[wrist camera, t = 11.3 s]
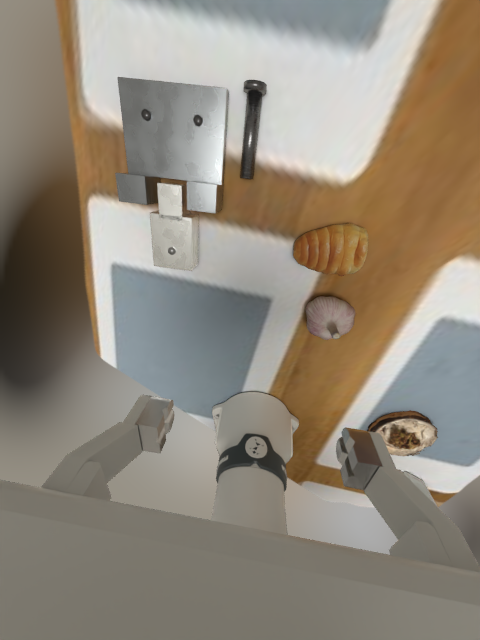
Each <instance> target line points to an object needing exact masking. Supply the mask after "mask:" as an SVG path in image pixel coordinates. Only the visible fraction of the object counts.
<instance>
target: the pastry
mask: <svg viewBox="0 0 480 640" xmlns="http://www.w3.org/2000/svg"><path fill="white" fill-rule="evenodd" d="M367 246H368V234H367V231H366V229H365V228H362V227H358V226H356V225H354V224H351V223H347V224H340V225H331V226H327V227H324V228H320V229H316V230H312V231H309V232H306V233H305V234H303V235H302V236H300V237H299V238H298V239H297V240H296V241H295V243H294V248H293V250H294V252H293V257H294V258H295V259H296V261H297V262H298V264H300V265H303V266H306V267H307V268H308V269H311V270H315V271H318V272H322V273H324V274H338V275H339V276H344V275H346V274H353V273H355V272H356V271H358V270H359V269H360V268H361V267H362V266H363V263H364V261H365V258H366V255H367Z"/></svg>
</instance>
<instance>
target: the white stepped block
mask: <svg viewBox="0 0 480 640" xmlns="http://www.w3.org/2000/svg"><path fill="white" fill-rule="evenodd" d="M157 187H158V203H159V211H155V212H151V213H150V222H151V235H152V247H153V259H154V266H159V267H166V268H173V269H180V270H188V271H192V270H193V269H194V268H195V267H196V266H197V264H198V238H199V215H196V214H190V210H187V185H184V184H175V183H157Z"/></svg>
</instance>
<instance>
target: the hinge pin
mask: <svg viewBox="0 0 480 640" xmlns="http://www.w3.org/2000/svg"><path fill="white" fill-rule="evenodd" d="M266 87H267V85H266V84H265V83H264V82H261V81H257V80H247V81H245V82H244V92H245V93H247V105H246V116H245V127H244V139H243V150H242V161H241V173H240V178H247V179H253V173H254V164H255V155H256V146H257V137H258V128H259V119H260V110H261V101H262V95H265V94H266Z"/></svg>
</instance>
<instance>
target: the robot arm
mask: <svg viewBox="0 0 480 640" xmlns="http://www.w3.org/2000/svg"><path fill="white" fill-rule="evenodd" d="M172 407H173V400H170V399H165V398H159V397H154V396H148V395H141V396H140V397H139V398H138V400H137V401H136V403H135V405H134V406H133V408H132V409H131V411H130V412H129V414H128V415H127V417H126V418H125V420H124V422H119V423H117V424H116V425H114V426H113V427H111V428H110V429H108V430H106V431H105V432H103V433H102V434H100V435H98V436H96V437H95V438H93V439H92V440H90V441H88V442H87V443H85V444H83V445H82V446H81V447H79V448H77V449H75V450H74V451H72V452H71V453H69V454H67V455H66V456H65V457H64V459H63V460H62V461H61V462H60V464H59V465H58V466H57V468H56V469H55V470H54V471H53V473H52V474H51V475H50V476H49V478H48V479H47V480H46V482H45V483H44V484H43V485H42V487H41V488H40V487H36V486H30V485H25V484H20V483H15V482H10V481H5V480H0V640H480V567H479V565H478V563H477V561H476V559H475V557H474V556H473V554H472V552H471V550H470V548H469V546H468V544H467V543H466V541H465V539H464V537H463V535H462V533H461V532H460V530H459V528H458V527H457V526H456V525H455V524H454V523H453V522H452V521H451V520H450V519H449V518H448V517H447V516H446V515H445V514H444V513H443V512H442V511H441V510H440V509H439V508H438V507H437V506H436V505H435V504H434V503H433V502H432V501H431V500H430V499H429V498H428V497H427V496H426V495H425V494H424V493H423V492H422V491H421V490H420V489H419V488H418V487H417V486H416V485H415V484H414V483H413V482H412V481H411V480H410V479H409V478H408V477H407V476H406V475H405V474H404V473H403V472H402V471H401V470H398V469H396V467H395V465H394V463H393V460H392V458H391V456H390V454H389V451H388V449H387V447H386V445H385V442H384V440H383V438H382V436H381V435H380V433H375V432H369V431H364V430H357V429H351V428H344V429H343V431H342V436H343V437H341V438H339V439H338V442H337V446H336V453H337V458H338V461H339V462H340V463H341V465H342V468H341V470H340V471H341V475H342V479H343V484H344V486H346V487H351V488H356V489H361V490H364V492H365V494H366V495H367V496H368V498H369V499H370V501H371V502H372V504H373V505H374V506H375V508H376V509H377V510H378V512H379V513H380V515H381V516H382V517H383V519H384V520H385V522H386V523H387V525H388V526H389V527H390V529H391V530H392V532H393V533H394V534H395V536H396V537H397V539H398V541H397V542H396V543H395V544H394V545H393V546H392V547H391V549H390V550H389V552H390V555H388V554H383V553H377V552H372V551H366V550H362V549H356V548H352V547H346V546H341V545H336V544H331V543H326V542H320V541H315V540H310V539H305V538H300V537H295V536H290V535H288V534H287V525H286V513H285V498H284V492H285V490H286V481H287V473H286V463H287V462H288V461H289V460H290V458H291V457H292V456H293V439H292V435H293V433H294V432H295V431H296V429H297V428H298V426H299V420H298V419H297V418H296V417H295V416H293V415H292V414H290V413H289V411H288V410H287V408H286V406H285V405H284V404H283V403H282V402H281V401H280V400H278V399H277V398H275V397H273V396H271V395H268V394H264V393H259V392H245V393H240V394H237V395H235V396H233V397H231V398H230V399H228V400H227V401H226V402H224V403H221V404H218V405H215V406H214V407H213V409H212V414H213V418H214V423H215V428H216V438H215V445H217V451H218V453H219V456H220V458H219V463H218V466H217V477H216V479H217V483H218V485H217V490H216V497H215V502H214V508H213V513H212V519H211V520H207V519H202V518H196V517H191V516H185V515H181V514H176V513H171V512H165V511H160V510H155V509H149V508H144V507H139V506H134V505H129V504H124V503H118V502H113V501H110V499H111V495H110V491H109V488H108V485H107V483H108V482H109V481H110V480H111V479H112V478H113V477H115V476H116V475H117V474H118V473H119V472H120V471H121V470H122V469H124V468H125V467H126V466H127V465H128V464H129V463H130V462H131V461H133V460H134V459H135V458H136V457H137V456H138V455H139V454H141V453H142V451H148V452H155V453H161V451H162V448H163V446H164V444H165V441H166V434H167V433H168V432H170V430H171V427H172V424H173V420H174V411H173V410H172Z"/></svg>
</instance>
